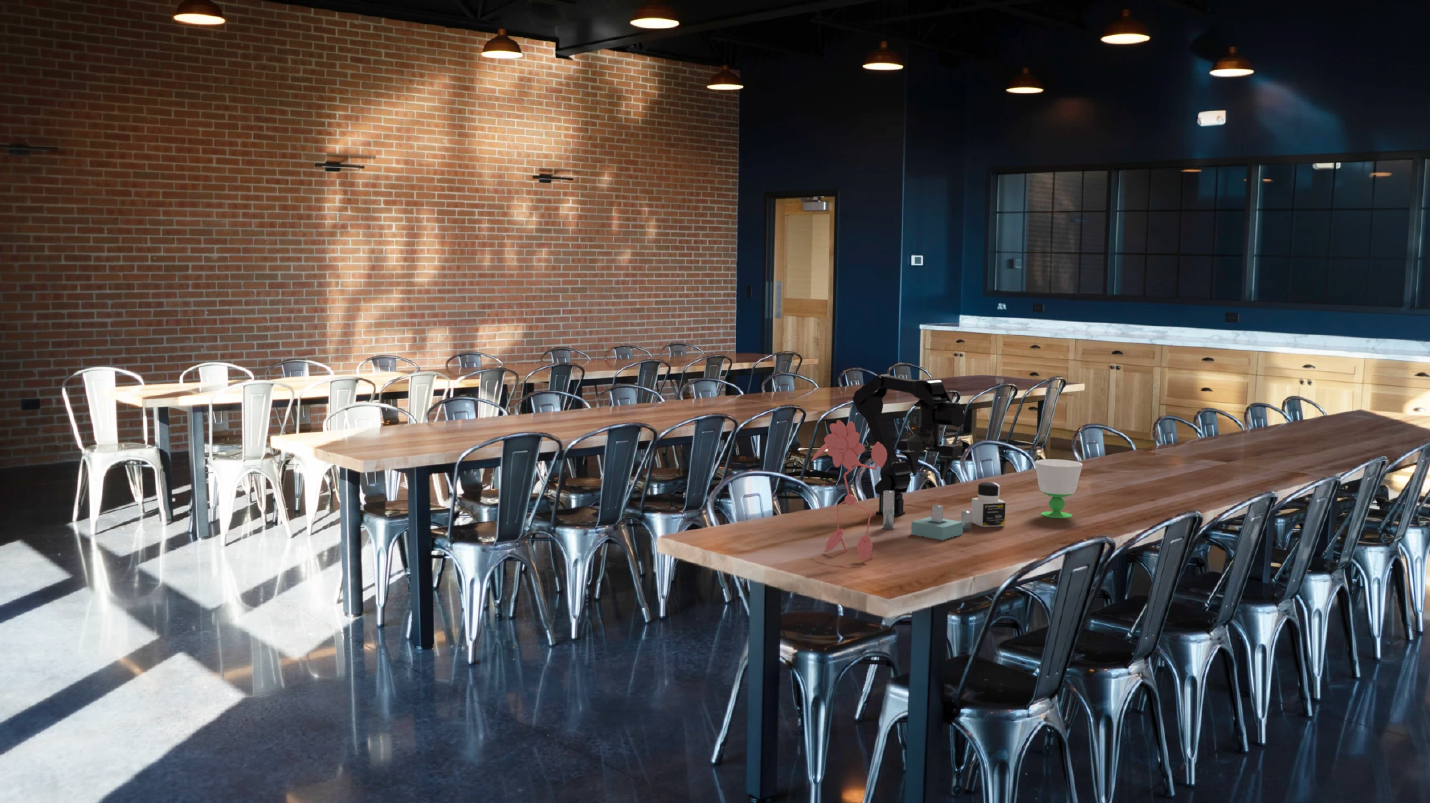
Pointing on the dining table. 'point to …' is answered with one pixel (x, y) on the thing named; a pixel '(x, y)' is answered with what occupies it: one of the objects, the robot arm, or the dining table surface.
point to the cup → (1057, 483)
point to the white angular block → (988, 506)
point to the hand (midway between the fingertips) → (928, 477)
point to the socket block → (936, 528)
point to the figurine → (845, 450)
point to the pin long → (888, 509)
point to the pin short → (966, 519)
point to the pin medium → (937, 514)
